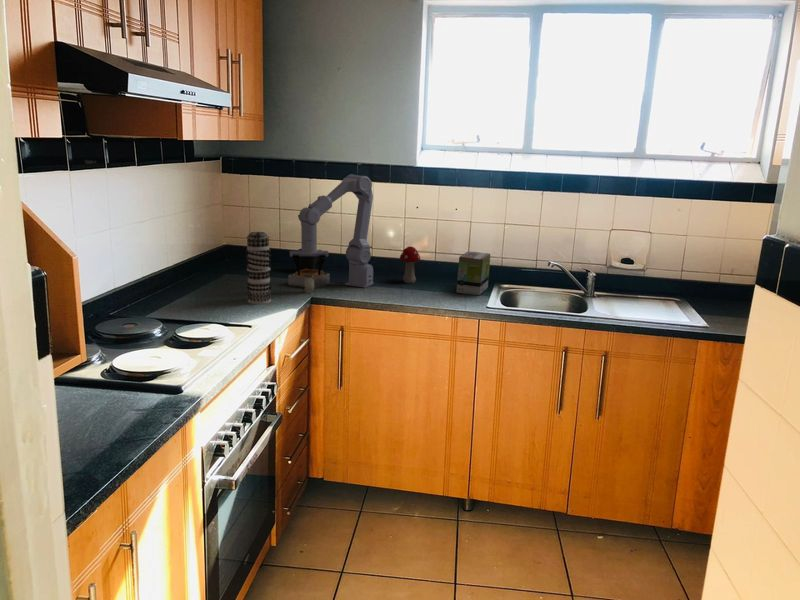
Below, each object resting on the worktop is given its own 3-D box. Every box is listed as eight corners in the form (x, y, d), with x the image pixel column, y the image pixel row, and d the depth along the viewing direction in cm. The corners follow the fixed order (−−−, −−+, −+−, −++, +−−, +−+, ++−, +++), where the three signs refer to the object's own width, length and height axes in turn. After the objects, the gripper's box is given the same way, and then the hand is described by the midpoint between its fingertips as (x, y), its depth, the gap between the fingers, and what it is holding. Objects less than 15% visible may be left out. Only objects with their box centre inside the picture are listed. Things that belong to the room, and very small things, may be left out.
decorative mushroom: (397, 279, 282) (398, 244, 278) (417, 279, 283) (418, 244, 280) (401, 284, 273) (402, 248, 269) (421, 284, 274) (423, 248, 270)
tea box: (480, 295, 258) (483, 258, 255) (455, 293, 262) (457, 256, 258) (488, 287, 272) (490, 252, 268) (464, 285, 275) (466, 250, 272)
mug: (327, 271, 293) (327, 250, 291) (303, 273, 286) (303, 252, 284) (317, 267, 299) (317, 247, 297) (294, 270, 292) (294, 249, 290)
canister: (315, 291, 257) (315, 275, 255) (310, 293, 253) (310, 276, 252) (307, 290, 258) (307, 273, 256) (302, 292, 255) (302, 275, 253)
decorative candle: (256, 305, 234) (254, 235, 228) (241, 300, 240) (239, 232, 234) (277, 301, 240) (276, 233, 234) (262, 296, 247) (261, 230, 240)
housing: (329, 283, 271) (329, 270, 270) (313, 288, 260) (313, 276, 259) (304, 279, 276) (304, 267, 274) (288, 285, 265) (288, 272, 264)
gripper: (327, 238, 256) (327, 272, 259) (289, 237, 253) (289, 272, 256) (328, 241, 249) (328, 276, 252) (289, 241, 246) (290, 276, 250)
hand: (309, 274), depth 254 cm, fingers open, 7 cm apart
